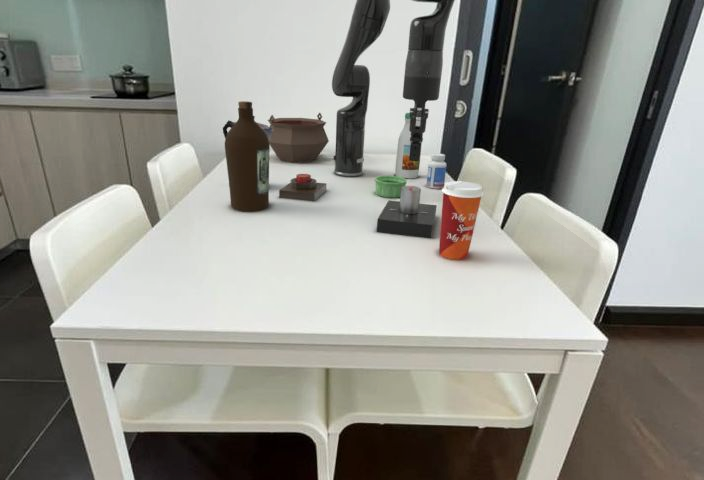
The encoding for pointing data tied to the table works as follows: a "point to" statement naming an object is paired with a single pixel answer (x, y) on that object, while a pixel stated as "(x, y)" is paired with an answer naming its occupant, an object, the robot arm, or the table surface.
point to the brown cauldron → (297, 138)
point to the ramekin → (389, 186)
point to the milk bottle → (406, 154)
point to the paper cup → (458, 218)
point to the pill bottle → (436, 171)
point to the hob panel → (407, 220)
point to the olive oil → (247, 162)
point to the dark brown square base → (303, 190)
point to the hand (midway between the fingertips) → (414, 159)
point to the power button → (303, 178)
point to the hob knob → (410, 199)
